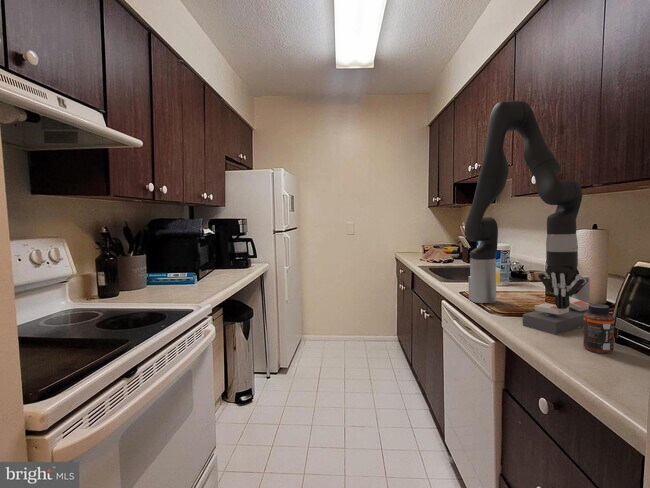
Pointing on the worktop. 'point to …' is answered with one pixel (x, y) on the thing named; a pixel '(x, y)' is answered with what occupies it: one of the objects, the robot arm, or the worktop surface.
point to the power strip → (555, 321)
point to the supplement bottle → (599, 329)
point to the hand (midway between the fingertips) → (562, 308)
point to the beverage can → (583, 291)
